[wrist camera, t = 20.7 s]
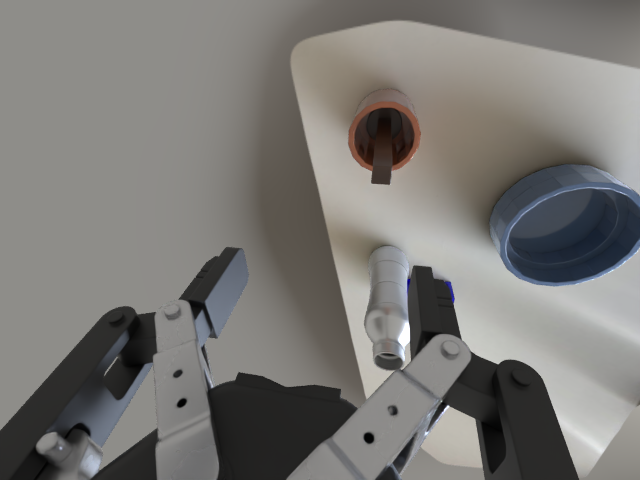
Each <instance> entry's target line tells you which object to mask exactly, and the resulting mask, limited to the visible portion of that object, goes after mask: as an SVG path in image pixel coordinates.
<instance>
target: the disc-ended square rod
mask: <svg viewBox="0 0 640 480" xmlns="http://www.w3.org/2000/svg"><path fill="white" fill-rule="evenodd" d="M366 127H367V132H368V134H369V136H370V137H371V138H372V139H374V140H375V141H376V142H375V151H374V159H373V169H372V180H371V183H372V184H387V185H390V183H391V175H392V140H393V139H394V138H396V137H397V135H398V134H399V133H400V131H401V128H402V118H401V115H400V113H399V111H398V110H396V109H394V108H378V109H376V110H373V111H371V113H370V114H369V116H368V119H367V124H366Z"/></svg>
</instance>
